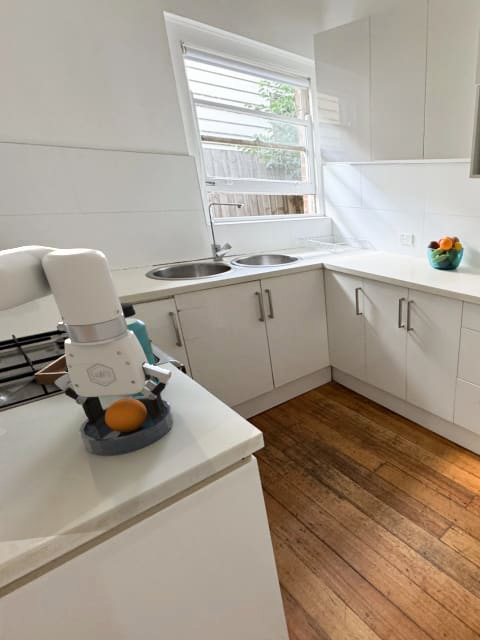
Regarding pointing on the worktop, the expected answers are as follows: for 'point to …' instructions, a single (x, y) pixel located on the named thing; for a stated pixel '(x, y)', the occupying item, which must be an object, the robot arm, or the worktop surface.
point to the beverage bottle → (139, 337)
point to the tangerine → (125, 415)
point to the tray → (52, 372)
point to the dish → (125, 433)
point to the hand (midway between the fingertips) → (127, 417)
